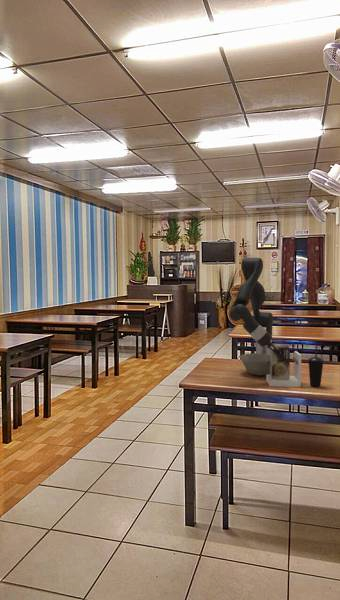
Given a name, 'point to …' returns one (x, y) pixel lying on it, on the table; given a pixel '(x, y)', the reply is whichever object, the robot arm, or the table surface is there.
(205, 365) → the table surface
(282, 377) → the coffee box
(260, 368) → the ceramic bowl
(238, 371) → the table surface
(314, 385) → the drinking cup
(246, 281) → the robot arm
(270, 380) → the white l-shaped bookend
